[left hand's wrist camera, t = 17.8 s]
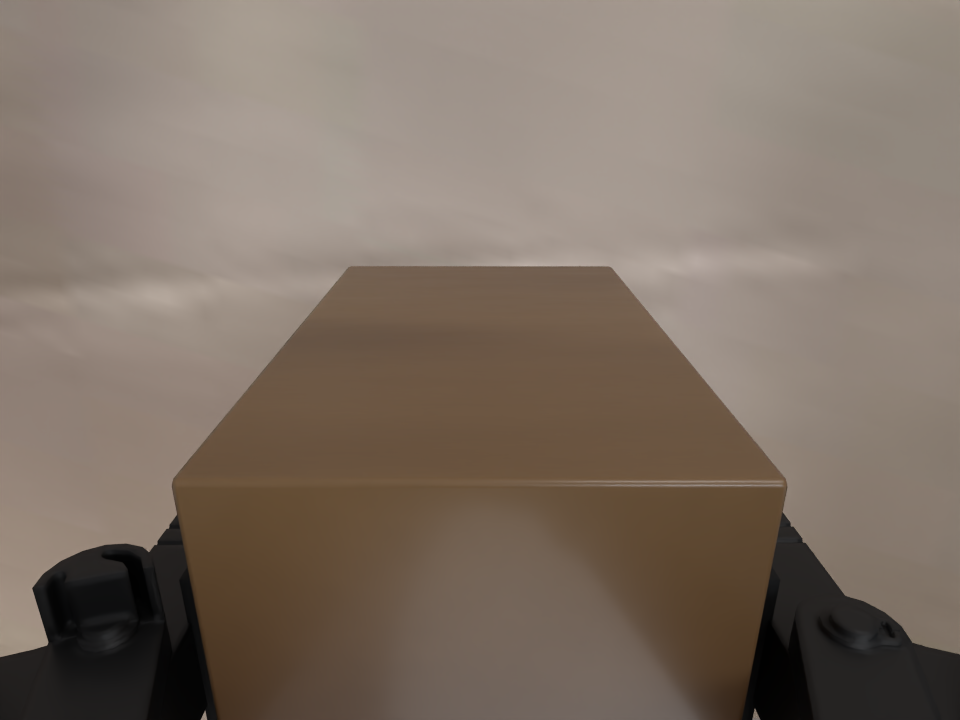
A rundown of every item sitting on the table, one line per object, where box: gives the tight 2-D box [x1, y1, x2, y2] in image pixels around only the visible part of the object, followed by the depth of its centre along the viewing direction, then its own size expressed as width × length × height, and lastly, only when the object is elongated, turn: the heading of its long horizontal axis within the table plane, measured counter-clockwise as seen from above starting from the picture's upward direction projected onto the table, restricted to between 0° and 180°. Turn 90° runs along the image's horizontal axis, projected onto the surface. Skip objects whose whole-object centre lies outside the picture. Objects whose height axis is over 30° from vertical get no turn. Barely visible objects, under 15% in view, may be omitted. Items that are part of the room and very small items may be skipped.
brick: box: [172, 266, 787, 720], centre depth 12 cm, size 7×6×9 cm
